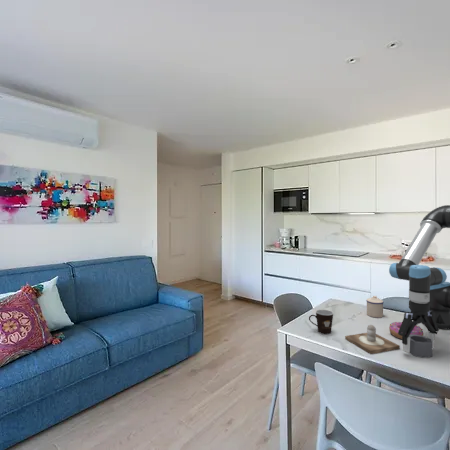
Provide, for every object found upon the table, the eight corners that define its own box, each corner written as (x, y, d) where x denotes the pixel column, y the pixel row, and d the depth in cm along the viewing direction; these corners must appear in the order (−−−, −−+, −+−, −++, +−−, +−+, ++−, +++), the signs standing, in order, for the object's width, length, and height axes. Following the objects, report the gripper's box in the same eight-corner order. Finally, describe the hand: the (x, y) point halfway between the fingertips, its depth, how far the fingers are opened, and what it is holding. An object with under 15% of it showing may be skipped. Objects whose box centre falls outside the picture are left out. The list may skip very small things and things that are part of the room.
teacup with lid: (386, 317, 166) (387, 298, 166) (372, 318, 165) (372, 298, 165) (374, 310, 178) (374, 292, 177) (360, 311, 177) (360, 293, 177)
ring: (417, 346, 130) (417, 333, 130) (436, 355, 121) (436, 341, 121) (401, 349, 127) (401, 336, 127) (420, 358, 119) (420, 344, 118)
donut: (407, 344, 133) (407, 333, 132) (382, 332, 146) (382, 322, 146) (430, 340, 136) (431, 329, 136) (404, 328, 150) (404, 319, 150)
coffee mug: (333, 329, 150) (333, 310, 150) (332, 335, 142) (332, 316, 142) (311, 326, 155) (311, 308, 155) (308, 332, 147) (308, 313, 147)
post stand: (372, 334, 143) (372, 317, 143) (399, 348, 128) (399, 329, 127) (345, 339, 138) (345, 321, 138) (370, 354, 123) (370, 334, 123)
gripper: (404, 306, 116) (403, 357, 117) (449, 301, 123) (448, 349, 124) (389, 301, 124) (388, 349, 124) (432, 296, 131) (431, 342, 131)
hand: (418, 349), depth 124 cm, fingers open, 13 cm apart
